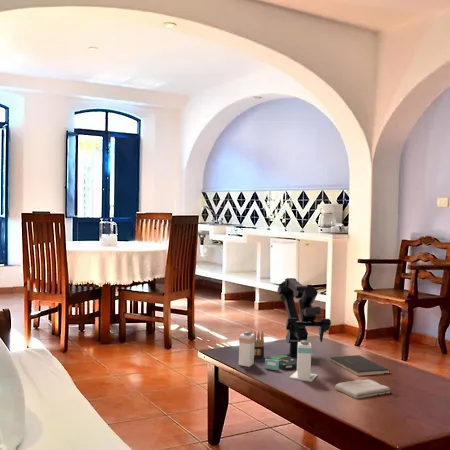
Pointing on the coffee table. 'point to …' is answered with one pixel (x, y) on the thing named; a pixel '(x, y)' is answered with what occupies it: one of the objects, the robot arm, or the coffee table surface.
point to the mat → (312, 377)
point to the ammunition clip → (258, 345)
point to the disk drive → (284, 361)
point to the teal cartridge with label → (271, 364)
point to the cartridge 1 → (246, 349)
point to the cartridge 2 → (304, 359)
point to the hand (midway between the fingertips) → (310, 341)
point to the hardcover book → (359, 365)
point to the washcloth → (361, 388)
